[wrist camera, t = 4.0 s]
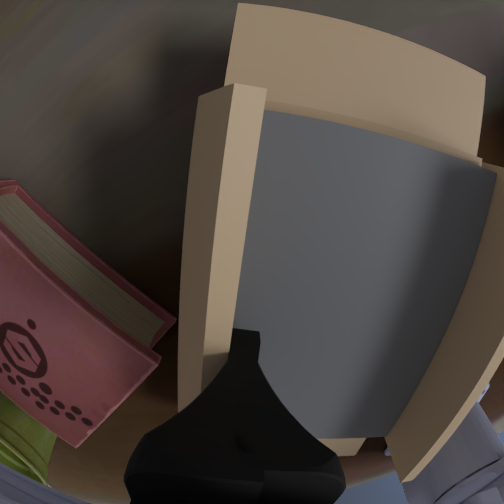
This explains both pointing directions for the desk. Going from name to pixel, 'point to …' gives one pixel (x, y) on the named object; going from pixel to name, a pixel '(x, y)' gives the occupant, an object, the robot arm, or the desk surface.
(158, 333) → the book
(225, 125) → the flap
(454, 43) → the desk surface
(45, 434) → the plant pot
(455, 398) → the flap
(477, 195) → the carton
